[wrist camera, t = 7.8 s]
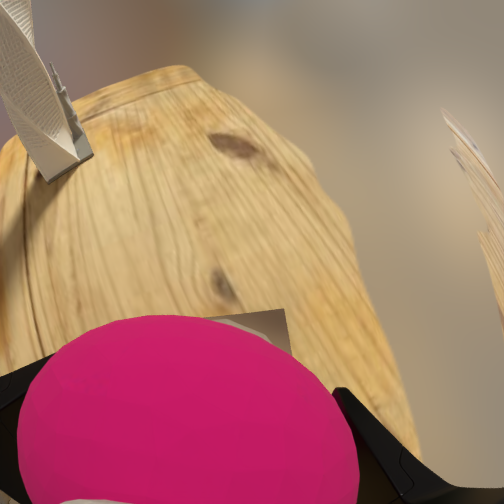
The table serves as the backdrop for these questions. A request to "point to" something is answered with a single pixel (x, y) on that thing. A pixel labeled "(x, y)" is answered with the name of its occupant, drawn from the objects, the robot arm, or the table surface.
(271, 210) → the table surface
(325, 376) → the table surface
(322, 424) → the pepper mill
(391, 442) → the robot arm
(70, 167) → the skyscraper
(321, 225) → the table surface
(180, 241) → the table surface
